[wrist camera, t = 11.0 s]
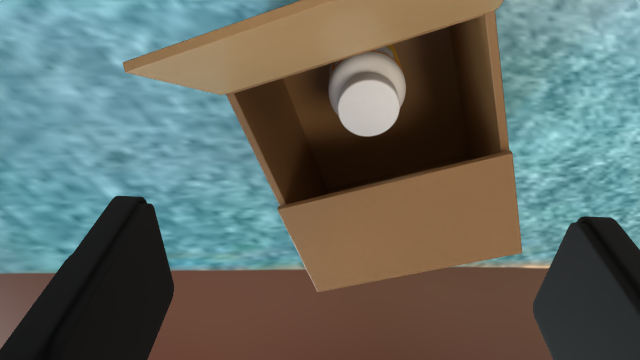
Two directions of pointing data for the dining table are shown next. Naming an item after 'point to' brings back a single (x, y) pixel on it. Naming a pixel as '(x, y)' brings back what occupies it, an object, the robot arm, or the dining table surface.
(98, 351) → the robot arm
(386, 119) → the supplement bottle
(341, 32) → the flap
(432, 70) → the waste box
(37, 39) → the dining table surface
